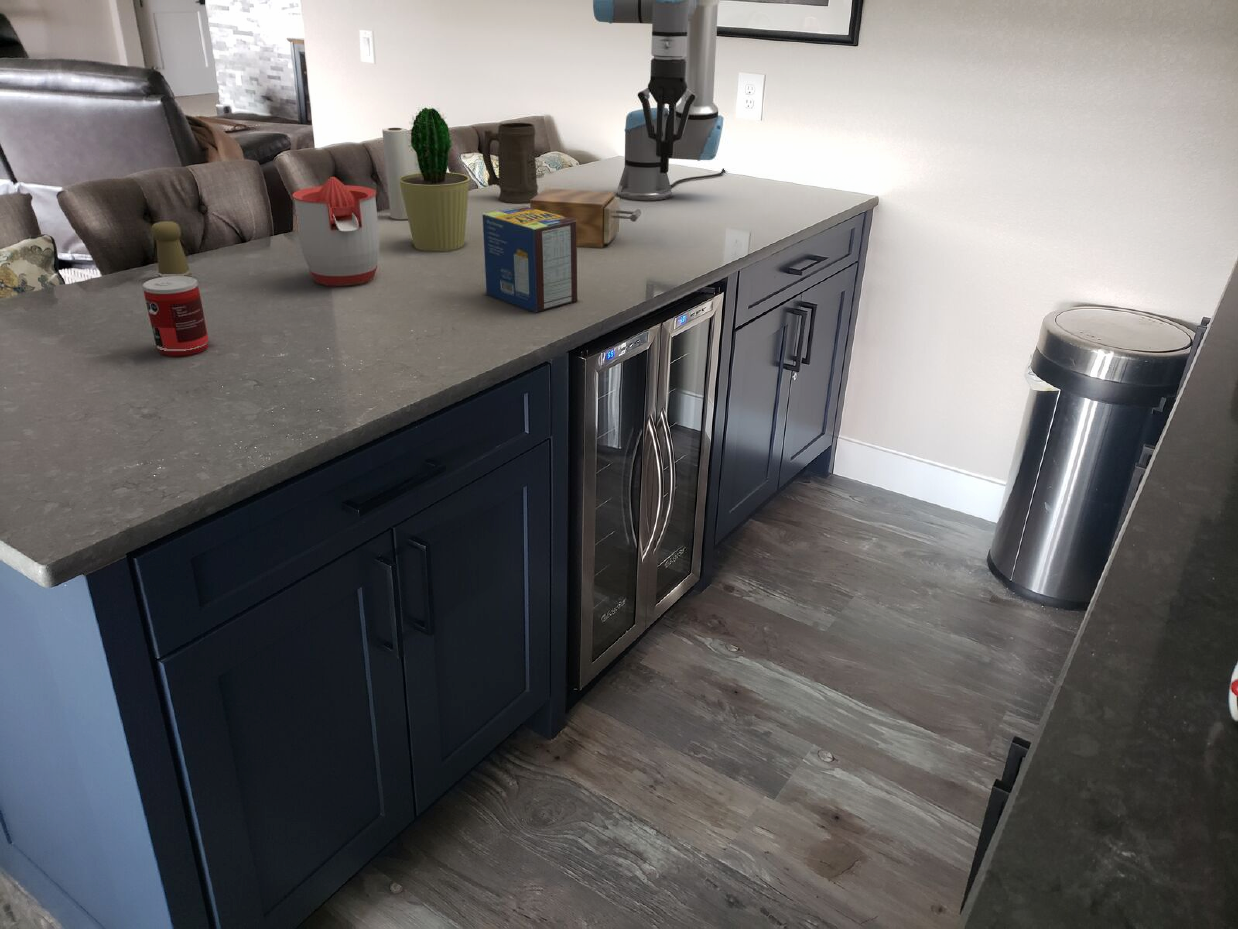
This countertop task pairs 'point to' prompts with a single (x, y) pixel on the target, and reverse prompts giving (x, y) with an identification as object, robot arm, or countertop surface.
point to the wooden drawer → (615, 218)
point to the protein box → (530, 257)
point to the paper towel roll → (398, 166)
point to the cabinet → (577, 211)
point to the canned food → (176, 314)
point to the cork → (169, 248)
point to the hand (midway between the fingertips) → (664, 171)
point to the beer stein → (513, 161)
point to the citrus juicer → (338, 232)
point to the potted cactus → (434, 187)
